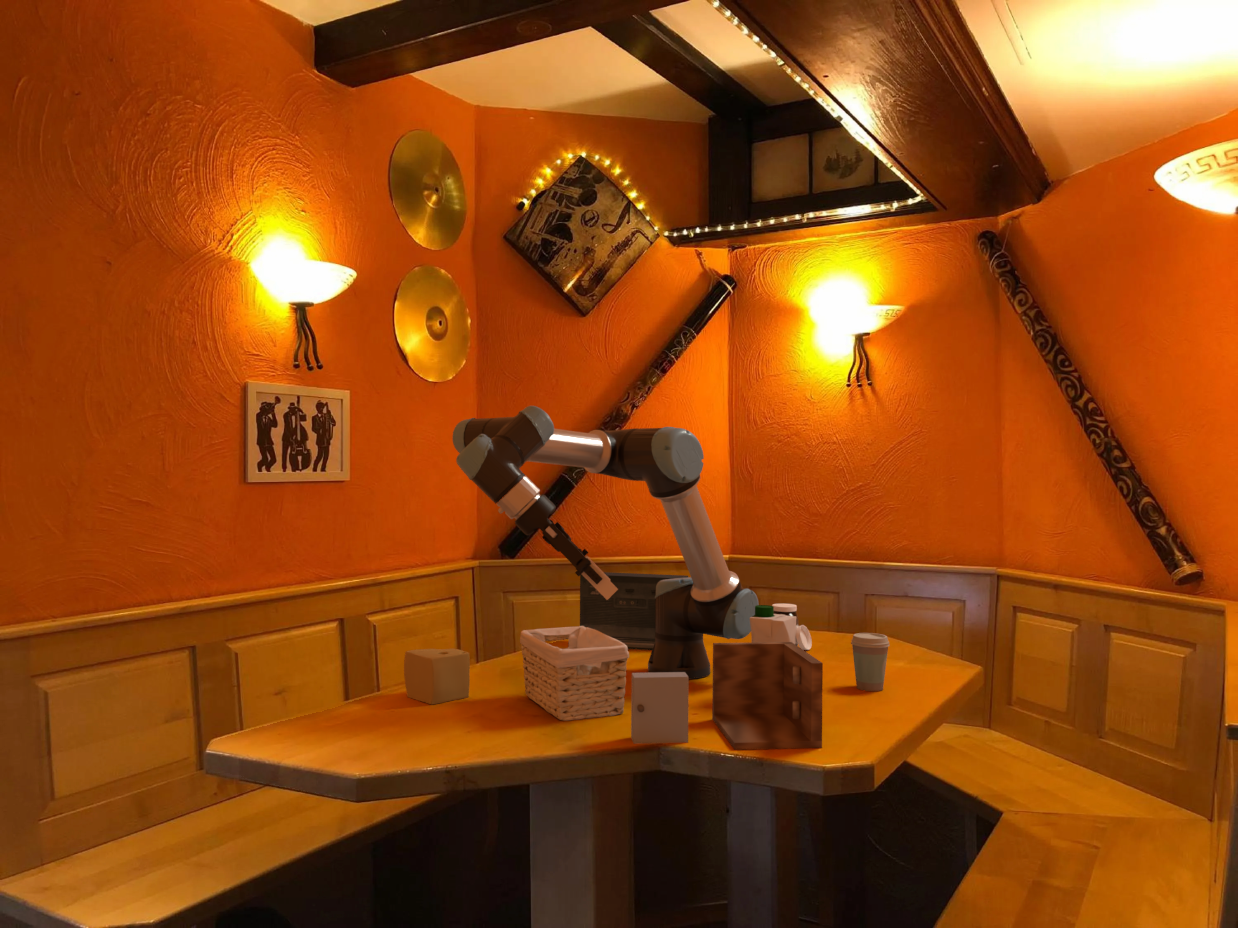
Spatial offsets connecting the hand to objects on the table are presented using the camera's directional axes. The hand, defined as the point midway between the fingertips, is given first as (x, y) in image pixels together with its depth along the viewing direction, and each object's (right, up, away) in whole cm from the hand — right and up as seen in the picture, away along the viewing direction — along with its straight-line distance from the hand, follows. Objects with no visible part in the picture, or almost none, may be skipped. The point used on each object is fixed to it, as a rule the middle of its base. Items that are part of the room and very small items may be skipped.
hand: (609, 589), depth 174 cm
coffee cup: (+59, -28, +43) cm, 78 cm away
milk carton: (+35, -28, +31) cm, 55 cm away
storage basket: (-8, -28, +25) cm, 38 cm away
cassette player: (+6, -28, +90) cm, 94 cm away
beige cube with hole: (-37, -28, +31) cm, 56 cm away
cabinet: (+29, -28, +6) cm, 41 cm away
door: (+9, -28, +1) cm, 29 cm away
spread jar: (+50, -28, +90) cm, 106 cm away
